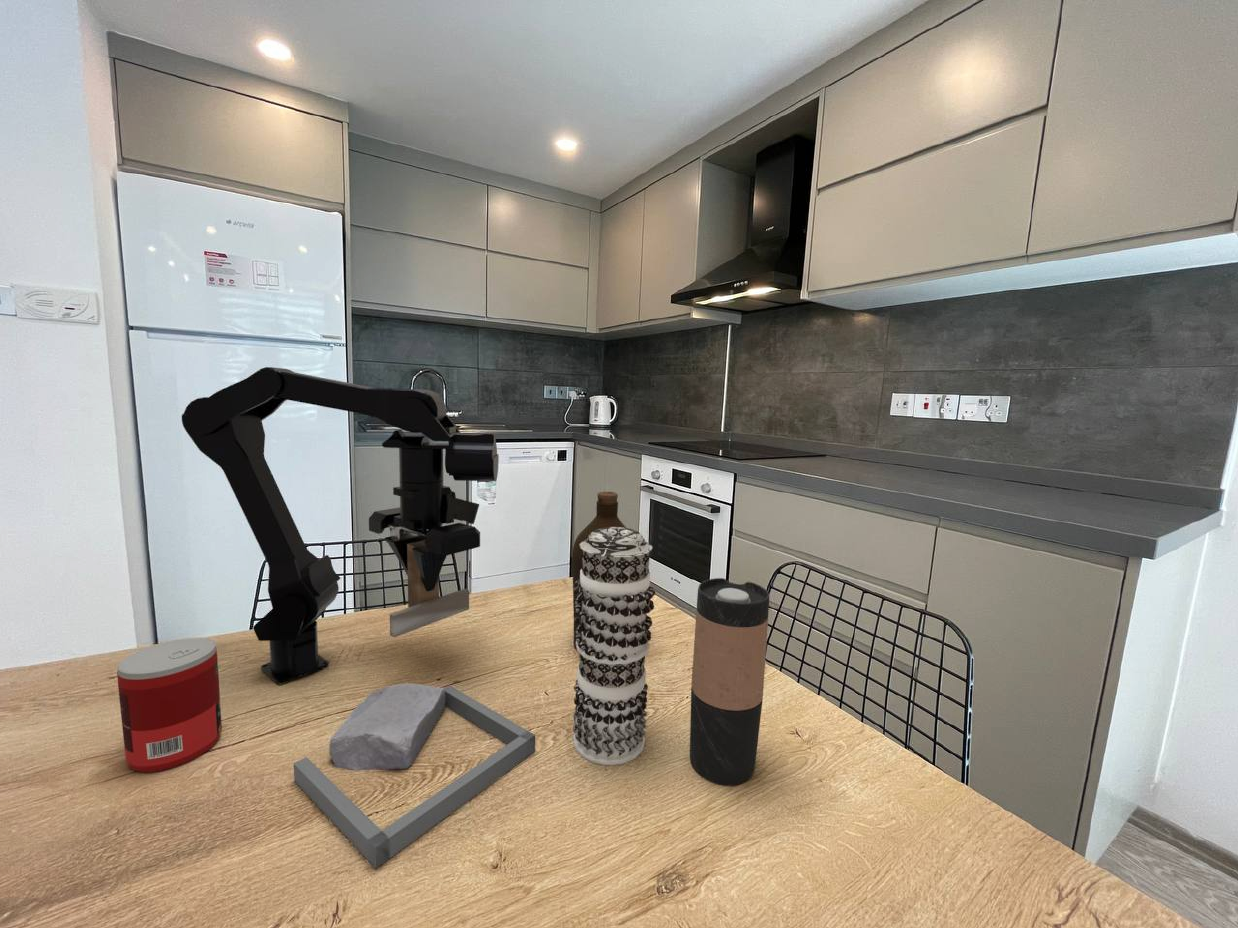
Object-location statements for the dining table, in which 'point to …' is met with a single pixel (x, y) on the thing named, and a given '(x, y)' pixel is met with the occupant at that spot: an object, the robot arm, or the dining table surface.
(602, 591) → the decorative candle
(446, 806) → the frame
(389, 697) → the stone block
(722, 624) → the travel mug
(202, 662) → the canned food
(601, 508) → the olive oil
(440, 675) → the dining table surface
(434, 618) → the block
